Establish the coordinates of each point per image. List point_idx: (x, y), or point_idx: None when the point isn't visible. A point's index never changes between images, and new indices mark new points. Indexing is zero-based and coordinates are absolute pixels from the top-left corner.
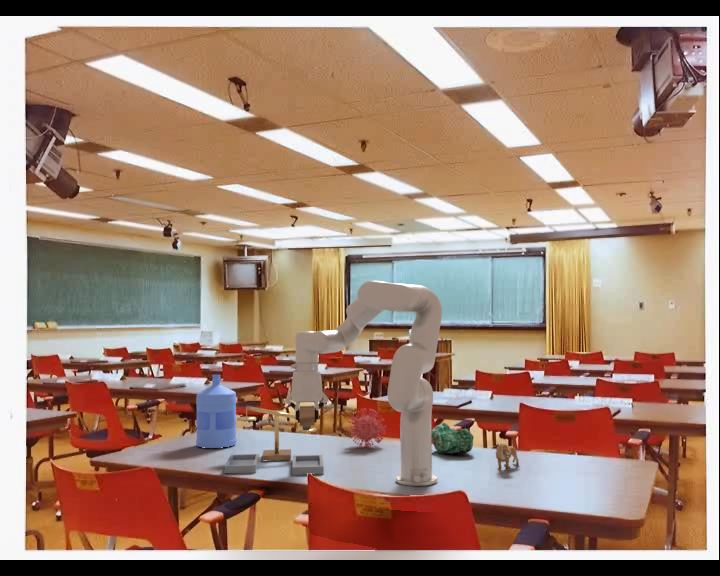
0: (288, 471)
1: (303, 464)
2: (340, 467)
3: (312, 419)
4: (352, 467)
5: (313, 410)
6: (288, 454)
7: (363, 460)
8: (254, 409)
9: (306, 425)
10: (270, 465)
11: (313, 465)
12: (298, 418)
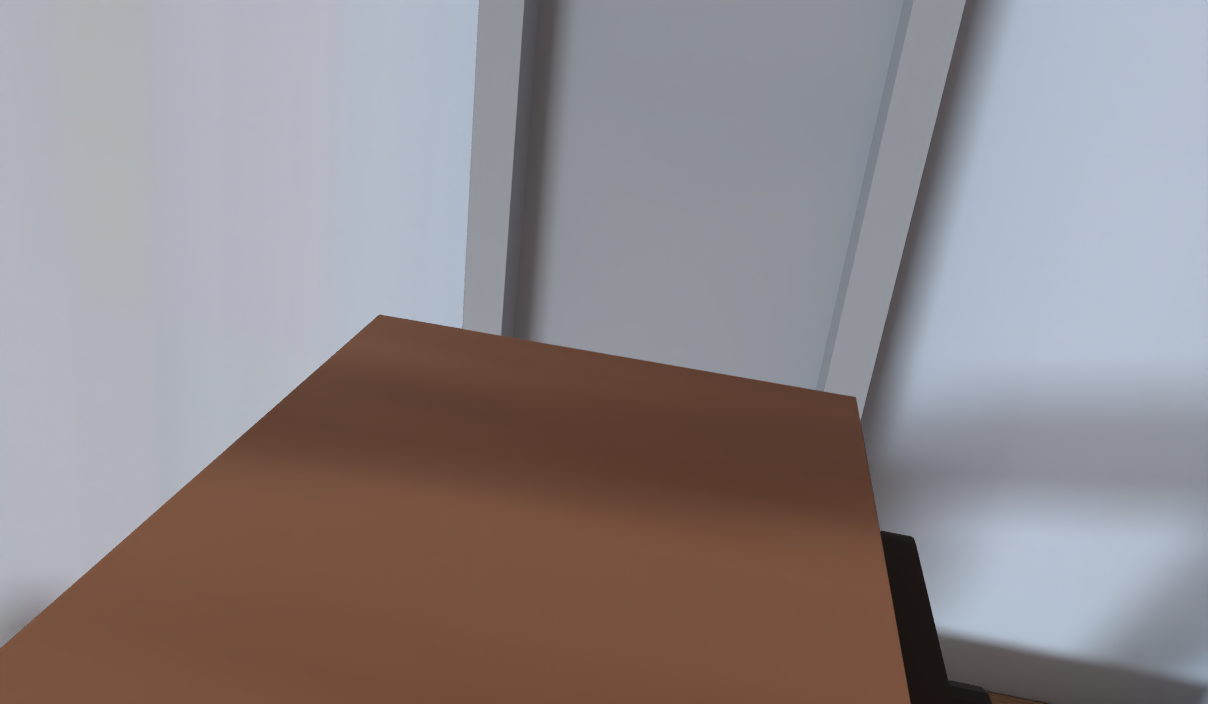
0: (975, 122)
1: (731, 298)
2: (284, 158)
3: (365, 406)
4: (144, 116)
5: (97, 630)
6: None
7: (40, 417)
8: None
9: (629, 361)
10: (1120, 519)
11: (609, 201)
12: (900, 619)
